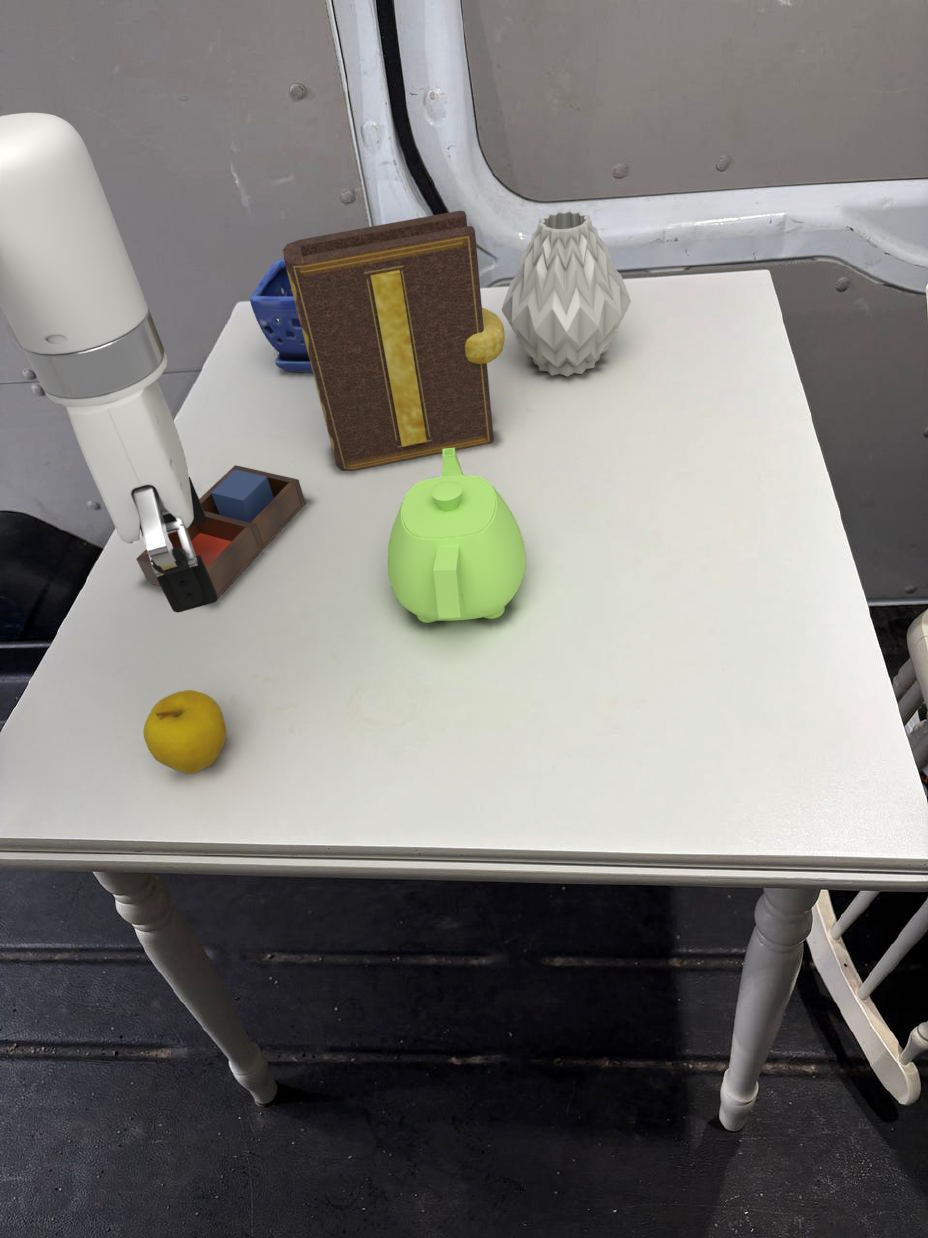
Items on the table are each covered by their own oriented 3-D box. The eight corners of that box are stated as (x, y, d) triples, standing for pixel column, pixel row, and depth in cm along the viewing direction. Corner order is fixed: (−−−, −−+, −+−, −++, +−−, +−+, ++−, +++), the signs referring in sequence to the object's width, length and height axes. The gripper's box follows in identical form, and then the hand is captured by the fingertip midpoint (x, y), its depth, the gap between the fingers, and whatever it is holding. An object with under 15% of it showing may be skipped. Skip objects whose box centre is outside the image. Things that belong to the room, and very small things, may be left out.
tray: (213, 602, 86) (203, 578, 84) (147, 582, 90) (135, 558, 87) (305, 503, 97) (298, 479, 94) (243, 488, 100) (235, 464, 98)
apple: (156, 792, 70) (119, 736, 65) (175, 731, 75) (142, 673, 69) (230, 789, 70) (199, 732, 64) (244, 727, 74) (216, 669, 69)
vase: (615, 397, 106) (620, 250, 92) (492, 388, 110) (479, 246, 97) (637, 335, 116) (644, 194, 103) (524, 328, 121) (516, 193, 107)
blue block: (223, 523, 95) (210, 492, 92) (246, 500, 98) (235, 468, 94) (254, 532, 93) (243, 500, 90) (277, 508, 96) (267, 476, 93)
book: (338, 478, 99) (285, 270, 82) (332, 440, 105) (281, 238, 88) (518, 442, 101) (504, 230, 83) (502, 406, 107) (486, 201, 89)
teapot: (402, 529, 92) (382, 431, 83) (524, 520, 90) (517, 420, 82) (387, 667, 78) (361, 567, 69) (531, 659, 77) (524, 556, 68)
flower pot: (380, 333, 124) (365, 252, 116) (359, 379, 115) (341, 296, 107) (295, 335, 127) (275, 256, 118) (269, 381, 118) (244, 299, 109)
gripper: (41, 308, 56) (137, 510, 68) (25, 441, 44) (145, 656, 56) (153, 283, 57) (228, 486, 69) (167, 406, 45) (255, 625, 57)
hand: (191, 562), depth 63 cm, fingers open, 9 cm apart
